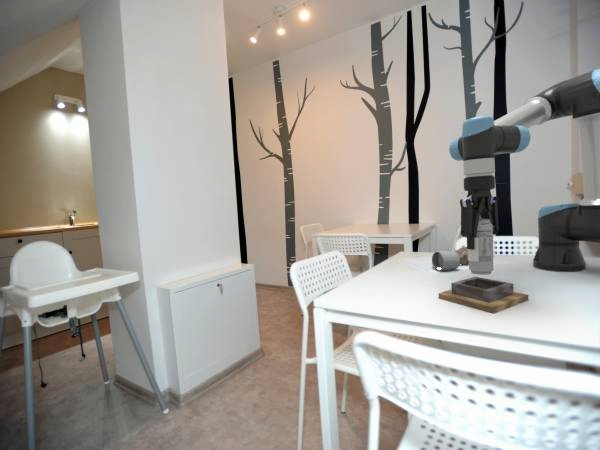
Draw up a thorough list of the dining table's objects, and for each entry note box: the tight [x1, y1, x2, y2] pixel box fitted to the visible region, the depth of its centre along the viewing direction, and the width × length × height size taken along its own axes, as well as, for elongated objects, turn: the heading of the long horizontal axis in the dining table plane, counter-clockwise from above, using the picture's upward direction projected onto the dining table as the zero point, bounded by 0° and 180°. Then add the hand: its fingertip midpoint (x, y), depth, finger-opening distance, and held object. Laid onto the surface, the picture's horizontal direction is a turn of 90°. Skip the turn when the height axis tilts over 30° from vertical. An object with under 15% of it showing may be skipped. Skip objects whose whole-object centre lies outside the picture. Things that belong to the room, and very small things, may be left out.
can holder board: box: [438, 276, 530, 314], centre depth 91 cm, size 16×16×4 cm
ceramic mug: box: [431, 250, 461, 272], centre depth 129 cm, size 11×8×8 cm
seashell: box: [453, 246, 469, 265], centre depth 136 cm, size 14×9×10 cm
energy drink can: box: [468, 218, 494, 276], centre depth 90 cm, size 6×6×15 cm
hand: (480, 258), depth 90 cm, fingers closed on energy drink can, 6 cm apart
